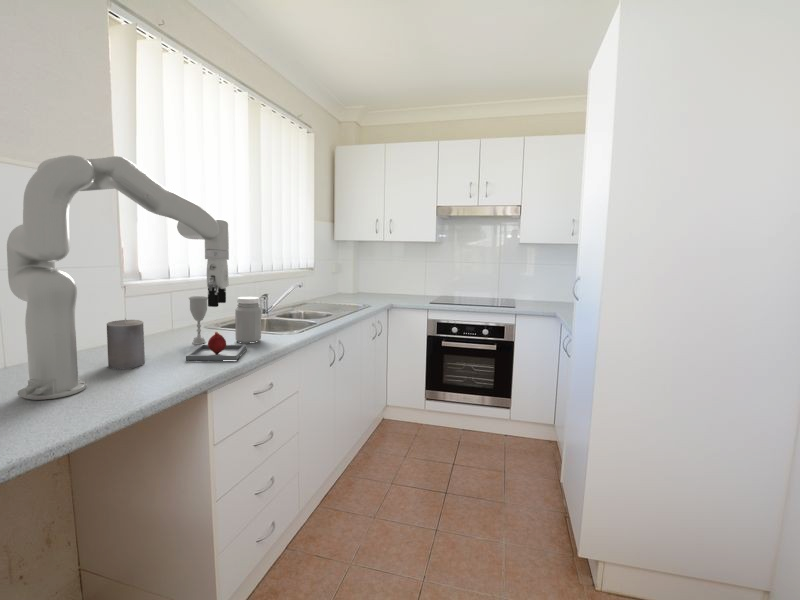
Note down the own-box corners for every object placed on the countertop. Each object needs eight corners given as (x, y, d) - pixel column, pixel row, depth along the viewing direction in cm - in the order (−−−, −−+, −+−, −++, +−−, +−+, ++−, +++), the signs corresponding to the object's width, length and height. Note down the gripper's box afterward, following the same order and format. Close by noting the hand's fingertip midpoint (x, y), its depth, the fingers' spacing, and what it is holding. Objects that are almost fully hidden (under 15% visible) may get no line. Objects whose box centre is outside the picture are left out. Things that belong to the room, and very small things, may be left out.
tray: (236, 361, 139) (236, 355, 139) (185, 361, 136) (185, 355, 136) (246, 349, 154) (246, 344, 154) (201, 349, 152) (201, 344, 152)
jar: (261, 343, 165) (261, 299, 163) (235, 344, 162) (235, 299, 159) (260, 338, 174) (260, 296, 172) (235, 339, 170) (235, 296, 168)
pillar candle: (111, 362, 132) (109, 316, 130) (146, 359, 136) (145, 315, 134) (105, 371, 123) (102, 322, 121) (143, 368, 128) (141, 320, 126)
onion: (229, 352, 147) (229, 330, 146) (220, 356, 142) (220, 333, 141) (213, 351, 148) (213, 329, 147) (204, 355, 142) (204, 332, 141)
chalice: (184, 343, 160) (183, 297, 158) (198, 339, 166) (197, 295, 164) (200, 345, 158) (199, 299, 155) (213, 341, 164) (212, 297, 162)
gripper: (221, 256, 133) (222, 308, 135) (234, 255, 150) (234, 301, 152) (197, 255, 132) (197, 308, 134) (212, 254, 149) (213, 301, 151)
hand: (217, 304), depth 143 cm, fingers open, 9 cm apart
